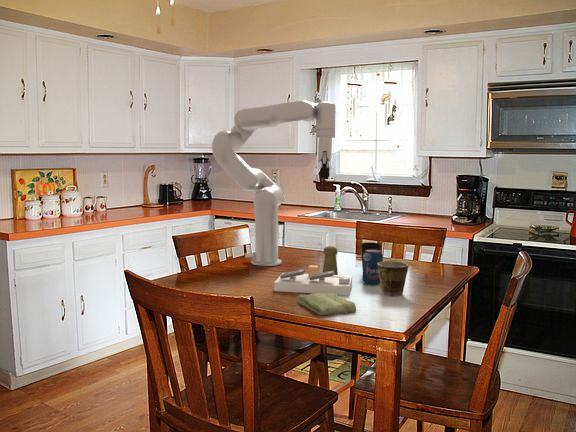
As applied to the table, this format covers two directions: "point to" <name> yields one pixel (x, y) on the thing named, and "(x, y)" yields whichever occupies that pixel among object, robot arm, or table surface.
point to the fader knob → (312, 269)
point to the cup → (369, 246)
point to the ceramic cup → (392, 277)
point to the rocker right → (322, 275)
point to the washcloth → (326, 303)
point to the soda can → (371, 266)
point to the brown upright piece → (330, 260)
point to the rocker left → (292, 274)
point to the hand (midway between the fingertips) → (324, 177)
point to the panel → (315, 284)
